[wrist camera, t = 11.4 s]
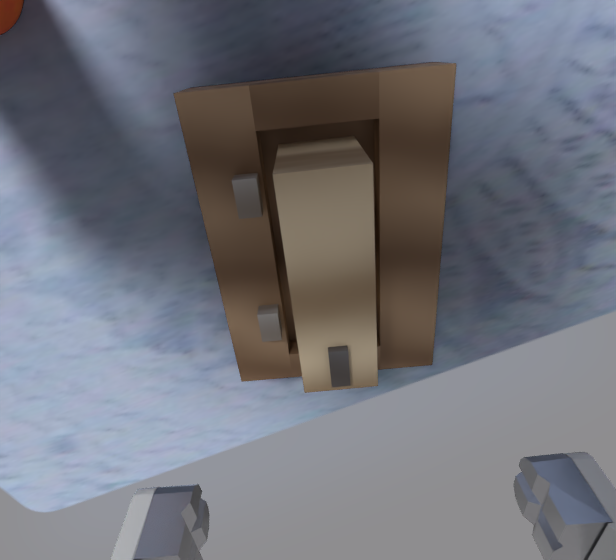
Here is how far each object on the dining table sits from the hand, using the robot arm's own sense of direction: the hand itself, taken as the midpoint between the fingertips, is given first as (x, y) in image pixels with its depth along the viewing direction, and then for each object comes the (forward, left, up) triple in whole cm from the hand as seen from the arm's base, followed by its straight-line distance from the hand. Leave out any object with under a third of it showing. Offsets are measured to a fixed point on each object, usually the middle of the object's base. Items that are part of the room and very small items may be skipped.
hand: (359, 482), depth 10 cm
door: (0, 0, -16) cm, 16 cm away
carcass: (0, 0, -18) cm, 18 cm away
